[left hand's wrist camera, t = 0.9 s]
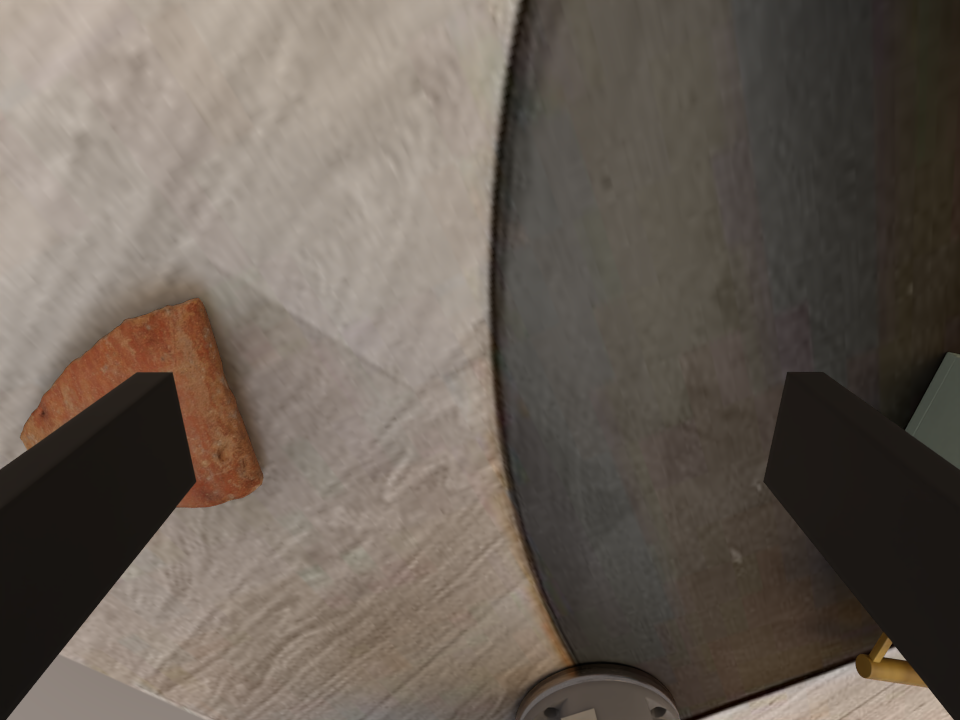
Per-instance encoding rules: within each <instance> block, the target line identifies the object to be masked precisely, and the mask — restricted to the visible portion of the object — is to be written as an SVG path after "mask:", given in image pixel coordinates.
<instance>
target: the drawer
mask: <svg viewBox="0 0 960 720" xmlns="http://www.w3.org/2000/svg"><path fill="white" fill-rule="evenodd" d="M891 644H892V642H891V640H890V639H889V638H888V637H887V635H886V634H885V633H884V632H883V633H882V635H881V636H880V638H879V640H878V641H877V643H876V644H875V646H874V648H873V649H872V651H871V652H870V654H869V655H865V654H860V655H858V656H857V658H856V669H857V671H858V673H859V674H860V676H862V677H863V678H867V679H873V680H880V681H887V682H893V683H900V684H907V685H914V686H920V687H927V685H926V684H925V683H924V682H923V680H922V679H921V678H920V677H919V675H918V674H917V673H916V672H915V670H914V669H913V668H912V667H911V665H910V664H909V663H908V662H907V661H905V660H898V659H891V658H885V657H884V655H885V654H886V652H887V650H888V649H889V647H890V646H891ZM927 688H928V687H927Z"/></svg>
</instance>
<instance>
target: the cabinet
mask: <svg viewBox="0 0 960 720" xmlns="http://www.w3.org/2000/svg"><path fill="white" fill-rule="evenodd" d="M905 431H906V432H908V433H909V434H910V435H912V436H913V437H915V438H916V439H917V440H919V441H920V442H922V443H923V444H924V445H926V446H927V447H929V448H930V449H931V450H933V451H934V452H936V453H937V454H938V455H940V456H941V457H943V458H944V459H945V460H947V461H948V462H950V463H951V464H952V465H954V466H955V467H957V468H958V469H959V470H960V354H955V353H950V352H948V353H947V354H946V356H945V358H944V360H943V361H942V363H941V365H940V367H939V369H938V371H937V372H936V374H935V376H934V378H933V380H932V382H931V383H930V385H929V387H928V389H927V391H926V393H925V394H924V396H923V398H922V400H921V402H920V404H919V405H918V407H917V409H916V411H915V413H914V415H913V416H912V418H911V420H910V422H909V424H908V426H907V427H906V429H905Z"/></svg>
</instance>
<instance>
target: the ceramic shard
mask: <svg viewBox="0 0 960 720" xmlns="http://www.w3.org/2000/svg"><path fill="white" fill-rule="evenodd" d="M136 372H173V376H174V380H175V385H176V390H177V394H178V399H179V403H180V408H181V413H182V417H183V422H184V426H185V431H186V436H187V440H188V445H189V449H190V454H191V459H192V463H193V468H194V472H195V477H196V483H195V484H194V485H193V487H192V488H191V489H190V490H189V492H188V493H187V494H186V495H185V497H184V498H183V499H182V500H181V502H180V503H179V504H178V505H177V507H188V508H197V507H210V506H215V505H219V504H222V503H225V502H227V501H230V500H234V499H239V498H243V497H245V496H247V495H249V494H250V493H252V492H253V491H254V490H256V489H257V488H258V487H259V486H260V485H262V481H263V473H262V471H261V468H260V466H259V463H258V461H257V458H256V456H255V453H254V450H253V448H252V445H251V442H250V439H249V437H248V434H247V431H246V428H245V425H244V422H243V420H242V417H241V415H240V412H239V410H238V408H237V403H236V399H235V397H234V395H233V393H232V392H231V390H230V388H229V386H228V384H227V381H226V379H225V376H224V373H223V366H222V361H221V358H220V355H219V351H218V348H217V344H216V341H215V338H214V335H213V332H212V328H211V325H210V322H209V319H208V316H207V313H206V310H205V307H204V305H203V303H202V301H201V300H200V299H199V298H194V299H191V300H188V301H186V302H184V303H181V304H177V305H174V306H168V305H167V306H165V307H164V308H162V309H158V310H155V311H153V312H151V313H149V314H146V315H142V316H139V317H135V318H132V319H126V320H124V321H123V323H122V324H121V325H120V326H118V327H116V328H115V329H114V330H113V331H111V332H110V333H109V334H107V335H106V336H104V337H103V338H101V339H100V340H98V341H97V343H96V344H95V345H94V346H93V347H92V348H91V349H90V350H88V351H87V352H85V353H84V354H83V355H82V356H81V357H80V358H77V359H75V360H74V361H72V362H71V363H70V364H69V365H68V367H67V368H66V369H65V370H64V372H63V373H62V374H61V376H60V377H59V378H58V379H57V380H56V381H55V383H54V384H53V386H52V387H51V389H50V390H49V391H47V392H46V393H45V394H44V395H43V397H42V400H41V402H40V404H39V406H38V408H37V409H36V410H35V411H34V412H33V413H32V414H31V416H30V417H29V419H28V420H27V422H26V423H25V425H24V428H23V431H22V433H21V437H20V438H21V440H22V441H23V443H24V445H25V447H26V448H27V450H29V449H30V448H31V447H33V446H34V445H36V444H37V443H38V442H40V441H41V440H43V439H44V438H45V437H47V436H48V435H50V434H51V433H52V432H54V431H55V430H57V429H58V428H59V427H61V426H62V425H64V424H65V423H66V422H68V421H69V420H71V419H72V418H73V417H75V416H76V415H78V414H79V413H80V412H82V411H83V410H85V409H86V408H87V407H89V406H90V405H92V404H93V403H94V402H96V401H97V400H99V399H100V398H101V397H103V396H104V395H106V394H107V393H108V392H110V391H111V390H113V389H114V388H115V387H117V386H118V385H120V384H121V383H122V382H124V381H125V380H127V379H128V378H129V377H131V376H132V375H134V374H135V373H136Z"/></svg>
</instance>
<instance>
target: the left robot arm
mask: <svg viewBox="0 0 960 720" xmlns="http://www.w3.org/2000/svg"><path fill="white" fill-rule="evenodd" d="M195 483H196V477H195V472H194V468H193V463H192V459H191V454H190V449H189V445H188V440H187V436H186V431H185V426H184V422H183V417H182V413H181V408H180V403H179V399H178V394H177V390H176V385H175V380H174V376H173V372H136V373H135V374H134V375H132V376H131V377H129V378H128V379H127V380H125V381H124V382H122V383H121V384H120V385H118V386H117V387H115V388H114V389H113V390H111V391H110V392H108V393H107V394H106V395H104V396H103V397H101V398H100V399H99V400H97V401H96V402H94V403H93V404H92V405H90V406H89V407H87V408H86V409H85V410H83V411H82V412H80V413H79V414H78V415H76V416H75V417H73V418H72V419H71V420H69V421H68V422H66V423H65V424H64V425H62V426H61V427H59V428H58V429H57V430H55V431H54V432H52V433H51V434H50V435H48V436H47V437H45V438H44V439H43V440H41V441H40V442H38V443H37V444H36V445H34V446H33V447H31V448H30V449H29V450H27V451H26V452H24V453H23V454H22V455H20V456H19V457H17V458H16V459H15V460H13V461H12V462H10V463H9V464H8V465H6V466H5V467H3V468H2V469H1V470H0V720H6V719H7V718H8V717H9V715H10V714H11V713H12V712H13V710H14V709H15V708H16V707H17V705H18V704H19V703H20V702H21V700H22V699H23V698H24V697H25V695H26V694H27V693H28V692H29V690H30V689H31V688H32V687H33V685H34V684H35V683H36V682H37V680H38V679H39V678H40V677H41V675H42V674H43V673H44V672H45V670H46V669H47V668H48V667H49V665H50V664H51V663H52V662H53V660H54V659H55V658H56V657H57V655H58V654H59V653H60V652H61V650H62V649H63V648H64V647H65V645H66V644H67V643H68V642H69V640H70V639H71V638H72V637H73V635H74V634H75V633H76V632H77V630H78V629H79V628H80V627H81V625H82V624H83V623H84V622H85V620H86V619H87V618H88V617H89V615H90V614H91V613H92V612H93V610H94V609H95V608H96V607H97V605H98V604H99V603H100V602H101V600H102V599H103V598H104V597H105V595H106V594H107V593H108V592H109V590H110V589H111V588H112V587H113V585H114V584H115V583H116V582H117V580H118V579H119V578H120V577H121V575H122V574H123V573H124V572H125V570H126V569H127V568H128V567H129V565H130V564H131V563H132V562H133V560H134V559H135V558H136V557H137V555H138V554H139V553H140V552H141V550H142V549H143V548H144V547H145V545H146V544H147V543H148V542H149V540H150V539H151V538H152V537H153V535H154V534H155V533H156V532H157V530H158V529H159V528H160V527H161V525H162V524H163V523H164V522H165V520H166V519H167V518H168V517H169V515H170V514H171V513H172V512H173V510H174V509H175V508H176V507H177V505H178V504H179V503H180V502H181V500H182V499H183V498H184V497H185V495H186V494H187V493H188V492H189V490H190V489H191V488H192V487H193V485H194V484H195ZM764 483H765V484H766V485H767V487H768V488H769V489H770V490H771V492H772V493H773V494H774V495H775V497H776V498H777V499H778V500H779V502H780V503H781V504H782V505H783V507H784V508H785V509H786V510H787V512H788V513H789V514H790V515H791V517H792V518H793V519H794V520H795V522H796V523H797V524H798V525H799V527H800V528H801V529H802V530H803V532H804V533H805V534H806V535H807V537H808V538H809V539H810V540H811V542H812V543H813V544H814V545H815V547H816V548H817V549H818V550H819V552H820V553H821V554H822V555H823V557H824V558H825V559H826V560H827V562H828V563H829V564H830V565H831V567H832V568H833V569H834V570H835V572H836V573H837V574H838V575H839V577H840V578H841V579H842V580H843V582H844V583H845V584H846V585H847V587H848V588H849V589H850V590H851V592H852V593H853V594H854V595H855V597H856V598H857V599H858V600H859V602H860V603H861V604H862V605H863V607H864V608H865V609H866V610H867V612H868V613H869V614H870V615H871V617H872V618H873V619H874V620H875V622H876V623H877V624H878V625H879V627H880V628H881V629H882V630H883V632H884V633H885V634H886V635H887V637H888V638H889V639H890V640H891V642H892V643H893V644H894V645H895V647H896V648H897V649H898V650H899V652H900V653H901V654H902V655H903V657H904V658H905V659H906V660H907V662H908V663H909V664H910V665H911V667H912V668H913V669H914V670H915V672H916V673H917V674H918V675H919V677H920V678H921V679H922V680H923V682H924V683H925V684H926V685H927V687H928V688H929V689H930V690H931V692H932V693H933V694H934V695H935V697H936V698H937V699H938V700H939V702H940V703H941V704H942V705H943V707H944V708H945V709H946V710H947V712H948V713H949V714H950V715H951V717H952V718H953V719H954V720H960V470H959V469H958V468H957V467H955V466H954V465H952V464H951V463H950V462H948V461H947V460H945V459H944V458H943V457H941V456H940V455H938V454H937V453H936V452H934V451H933V450H931V449H930V448H929V447H927V446H926V445H924V444H923V443H922V442H920V441H919V440H917V439H916V438H915V437H913V436H912V435H910V434H909V433H908V432H906V431H905V430H903V429H902V428H901V427H899V426H898V425H896V424H895V423H894V422H892V421H891V420H889V419H888V418H887V417H885V416H884V415H882V414H881V413H880V412H878V411H877V410H875V409H874V408H873V407H871V406H870V405H868V404H867V403H866V402H864V401H863V400H861V399H860V398H859V397H857V396H856V395H854V394H853V393H852V392H850V391H849V390H847V389H846V388H845V387H843V386H842V385H840V384H839V383H838V382H836V381H835V380H833V379H832V378H831V377H829V376H828V375H826V374H825V373H824V372H787V376H786V380H785V385H784V390H783V394H782V399H781V403H780V408H779V413H778V417H777V422H776V426H775V431H774V436H773V440H772V445H771V449H770V454H769V459H768V463H767V468H766V472H765V477H764ZM516 720H681V719H680V716H679V713H678V710H677V707H676V705H675V702H674V699H673V697H672V695H671V694H670V692H669V691H668V689H667V688H666V687H665V686H664V685H663V684H662V683H661V682H660V681H658V680H657V679H655V678H654V677H652V676H651V675H649V674H647V673H645V672H643V671H640V670H637V669H635V668H631V667H627V666H622V665H616V664H589V665H582V666H576V667H573V668H569V669H566V670H563V671H560V672H558V673H555V674H553V675H551V676H549V677H547V678H546V679H544V680H543V681H541V682H540V683H538V684H537V685H536V686H535V687H533V688H532V689H531V690H530V691H529V692H528V694H527V695H526V696H525V697H524V699H523V700H522V702H521V704H520V706H519V708H518V711H517V714H516Z"/></svg>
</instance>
